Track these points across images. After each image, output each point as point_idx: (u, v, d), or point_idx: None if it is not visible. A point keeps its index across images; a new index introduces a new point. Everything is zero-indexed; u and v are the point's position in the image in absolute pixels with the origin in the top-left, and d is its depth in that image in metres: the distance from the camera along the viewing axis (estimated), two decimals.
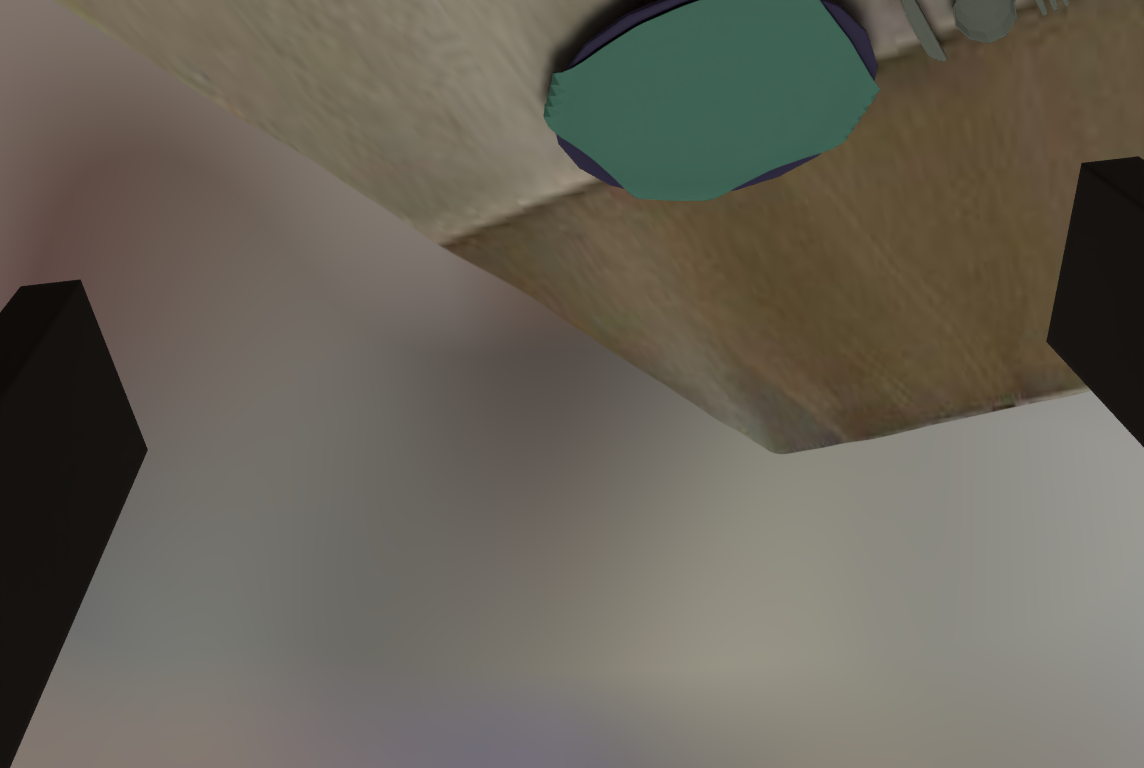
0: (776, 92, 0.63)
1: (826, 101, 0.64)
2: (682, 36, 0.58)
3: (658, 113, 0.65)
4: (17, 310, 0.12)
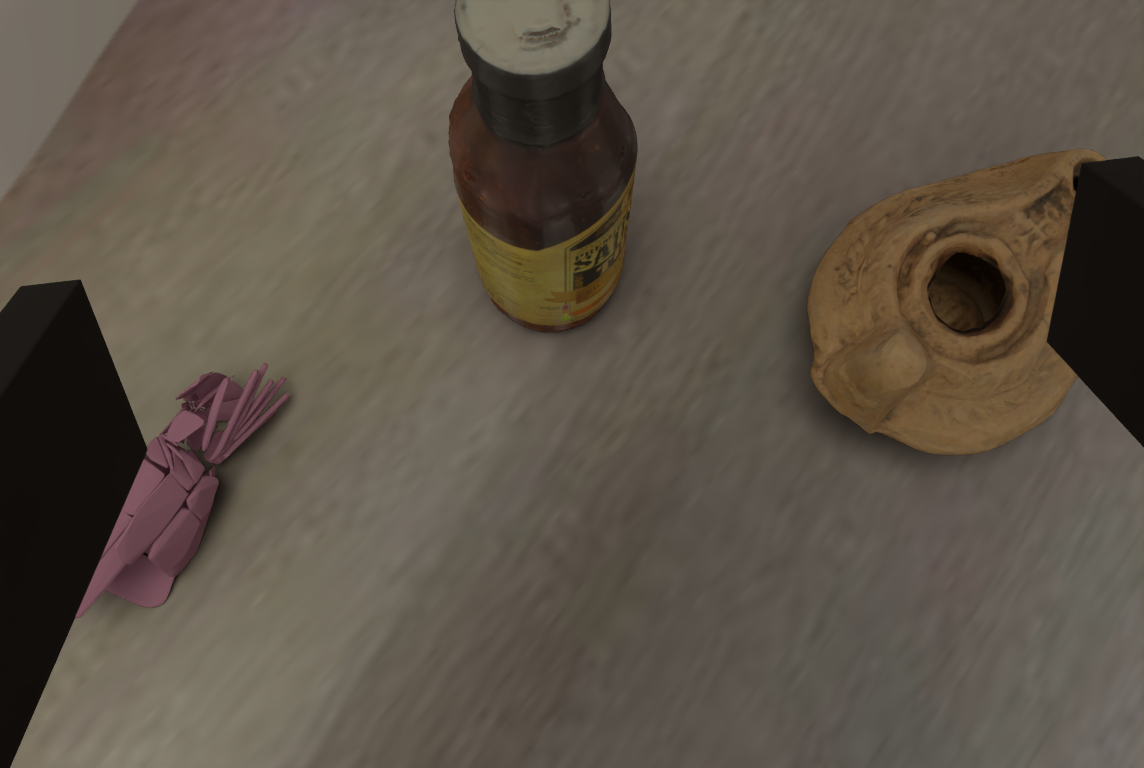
0: None
1: None
2: None
3: None
4: (17, 310, 0.12)
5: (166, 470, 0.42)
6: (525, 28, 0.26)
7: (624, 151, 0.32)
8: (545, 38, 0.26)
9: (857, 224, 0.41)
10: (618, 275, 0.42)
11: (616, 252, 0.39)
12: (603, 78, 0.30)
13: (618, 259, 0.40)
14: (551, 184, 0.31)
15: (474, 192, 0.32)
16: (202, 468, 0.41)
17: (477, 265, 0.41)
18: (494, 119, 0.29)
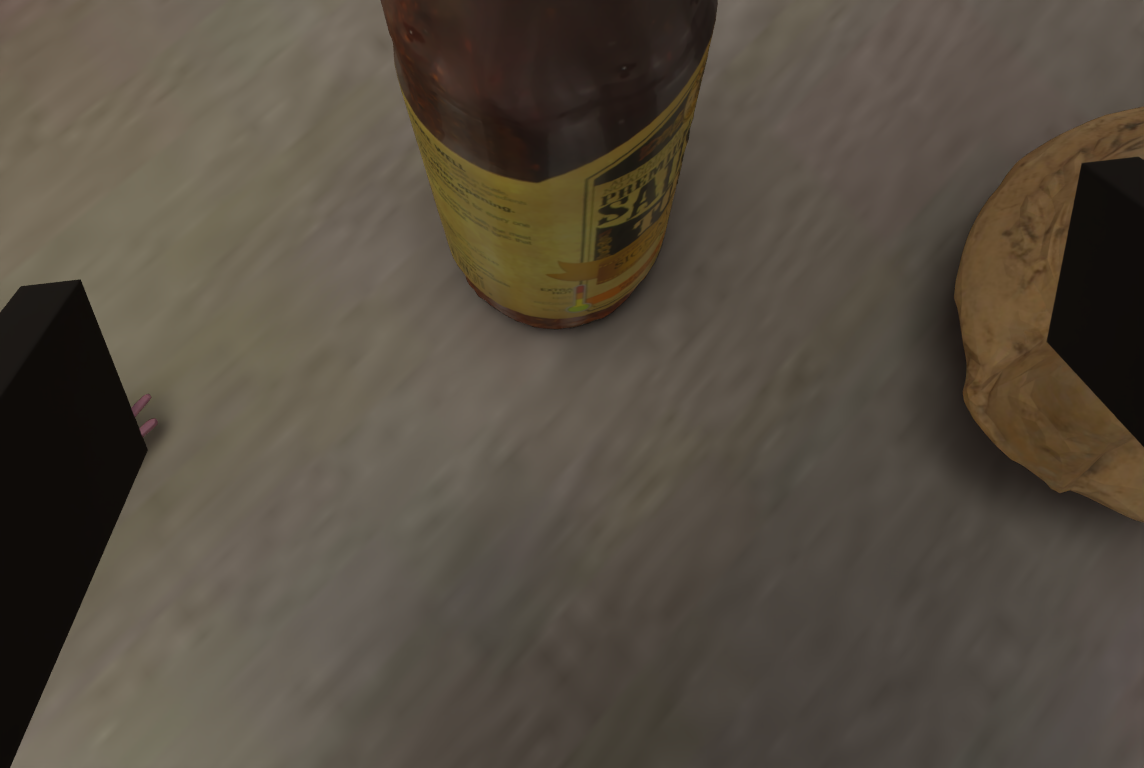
0: None
1: None
2: None
3: None
4: (17, 310, 0.12)
5: None
6: None
7: None
8: None
9: (1033, 166, 0.27)
10: (660, 242, 0.27)
11: (665, 199, 0.24)
12: None
13: (665, 213, 0.25)
14: (565, 42, 0.17)
15: (423, 65, 0.18)
16: None
17: (442, 223, 0.26)
18: None
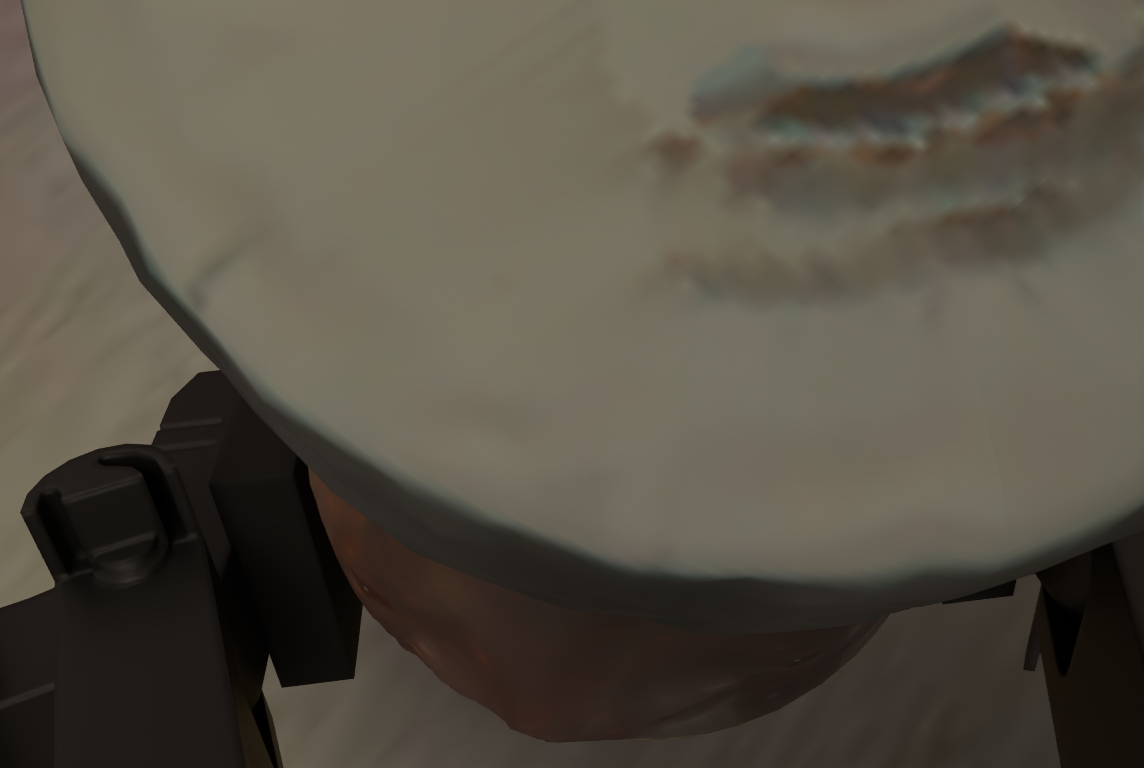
0: None
1: None
2: None
3: None
4: None
5: None
6: (715, 46, 0.02)
7: None
8: (940, 158, 0.02)
9: None
10: None
11: None
12: None
13: None
14: (688, 659, 0.08)
15: (395, 628, 0.09)
16: None
17: None
18: None
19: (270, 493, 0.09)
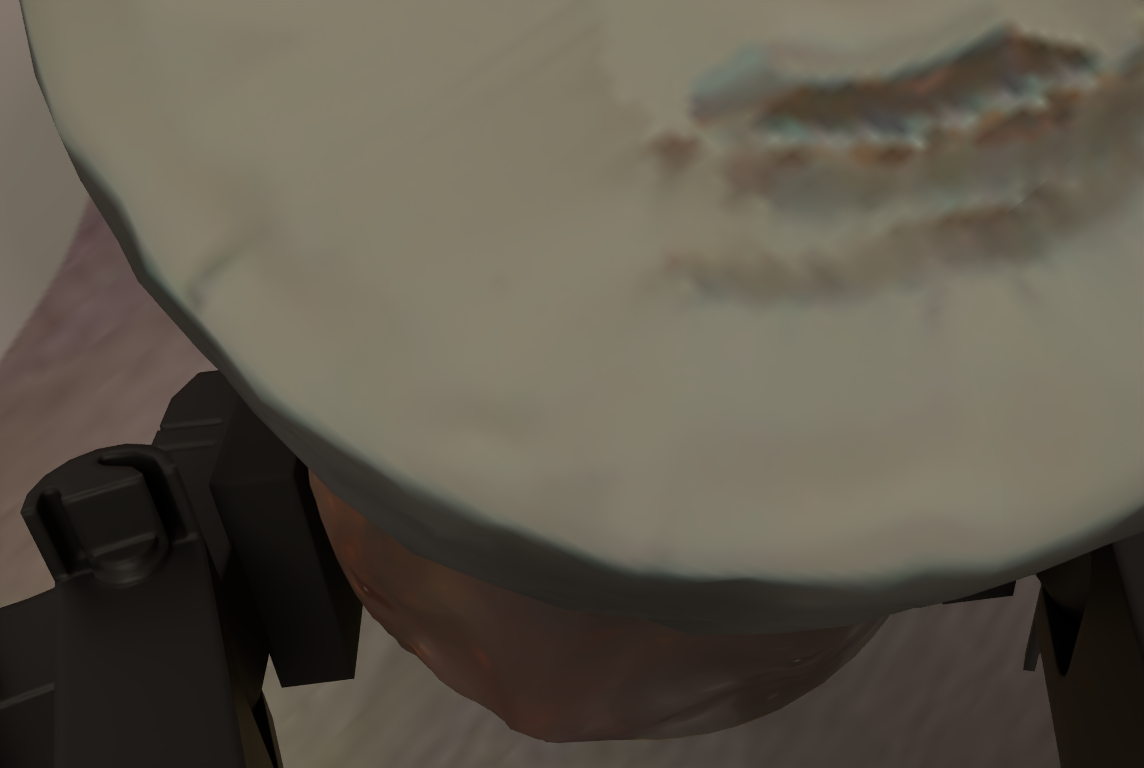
0: None
1: None
2: None
3: None
4: None
5: None
6: (720, 45, 0.02)
7: None
8: (942, 157, 0.02)
9: None
10: None
11: None
12: None
13: None
14: (688, 659, 0.08)
15: (393, 628, 0.09)
16: None
17: None
18: None
19: (270, 493, 0.09)
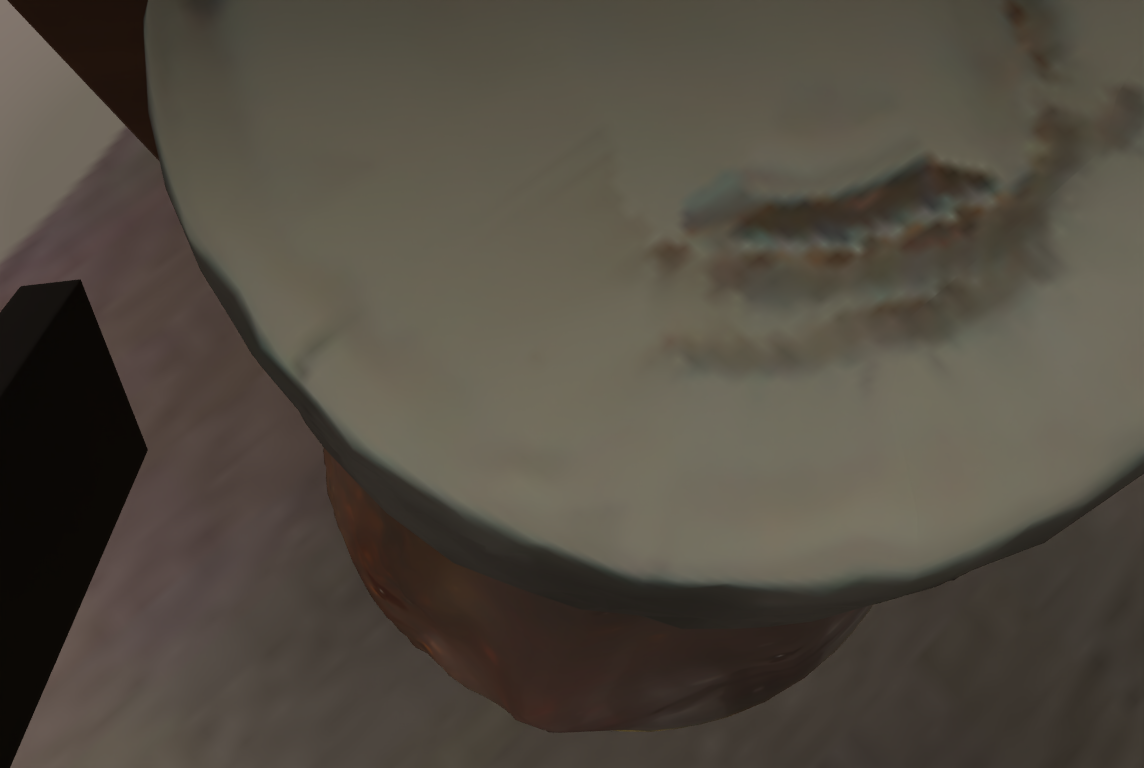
0: None
1: None
2: None
3: None
4: (17, 310, 0.12)
5: None
6: (702, 171, 0.03)
7: None
8: (873, 260, 0.03)
9: None
10: None
11: None
12: None
13: None
14: (678, 655, 0.09)
15: (406, 627, 0.10)
16: None
17: None
18: None
19: None
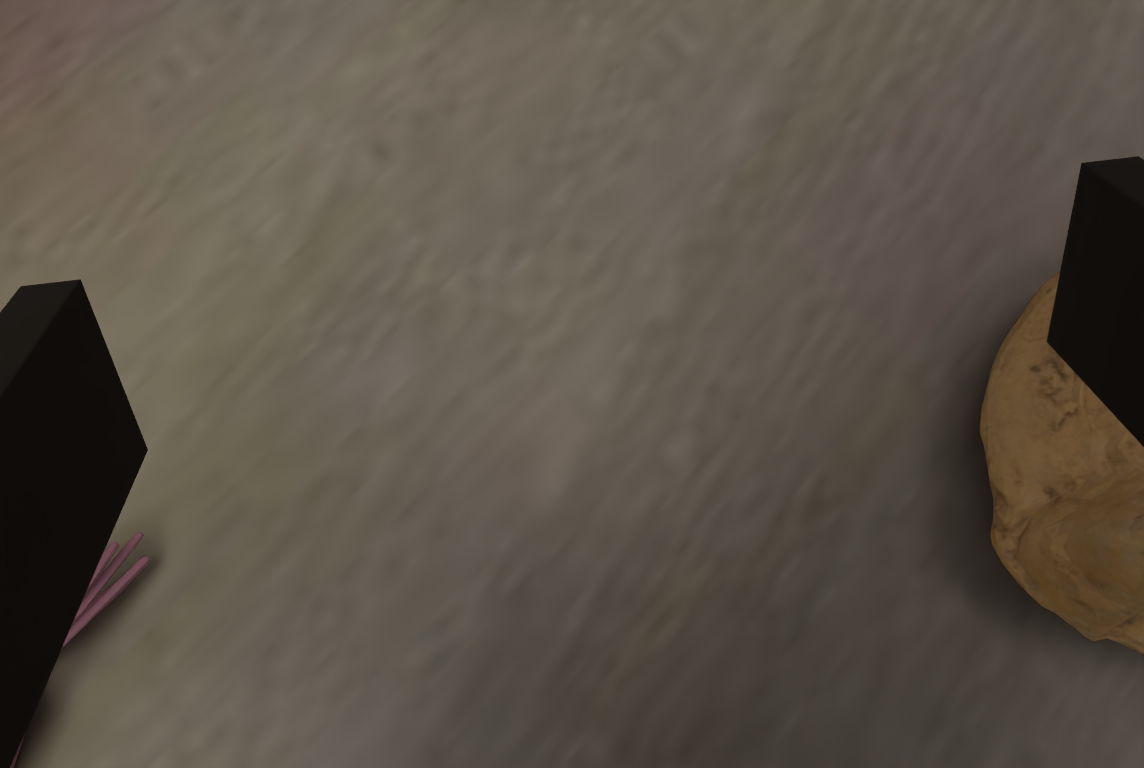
0: None
1: None
2: None
3: None
4: (17, 310, 0.12)
5: None
6: None
7: None
8: None
9: None
10: None
11: None
12: None
13: None
14: None
15: None
16: None
17: None
18: None
19: None
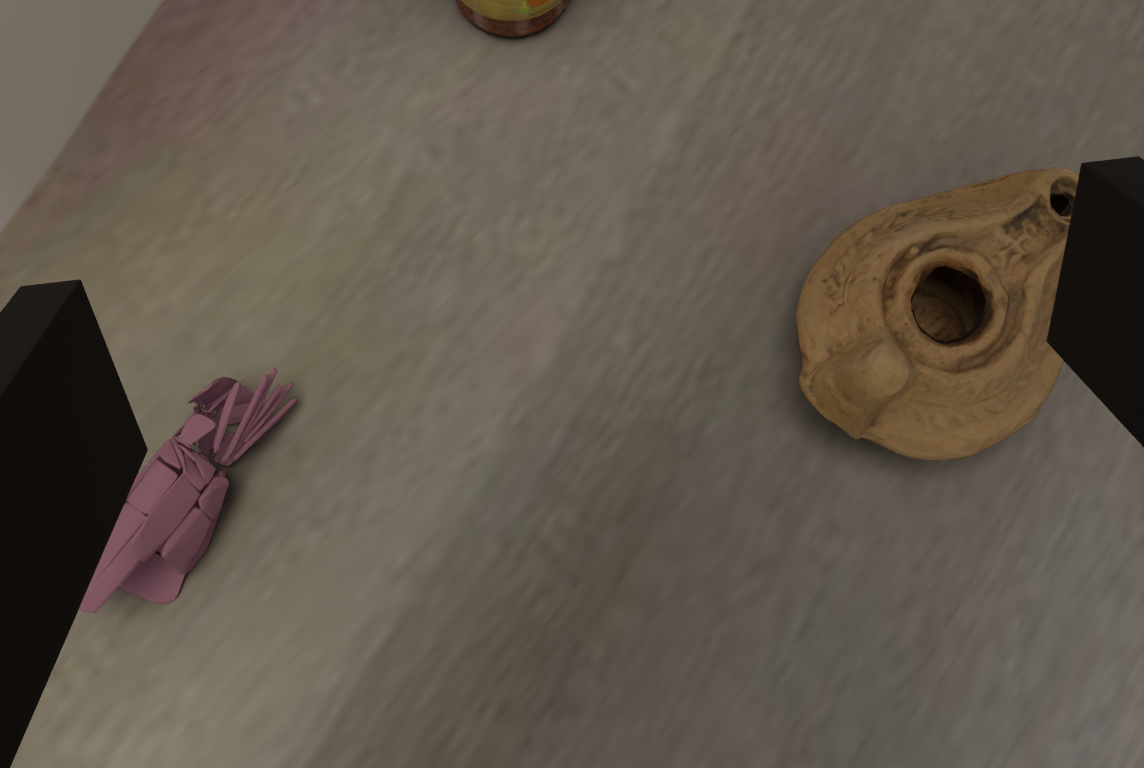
0: None
1: None
2: None
3: None
4: (17, 310, 0.12)
5: (178, 471, 0.44)
6: None
7: None
8: None
9: (844, 238, 0.43)
10: None
11: None
12: None
13: None
14: None
15: None
16: (213, 469, 0.42)
17: None
18: None
19: None
